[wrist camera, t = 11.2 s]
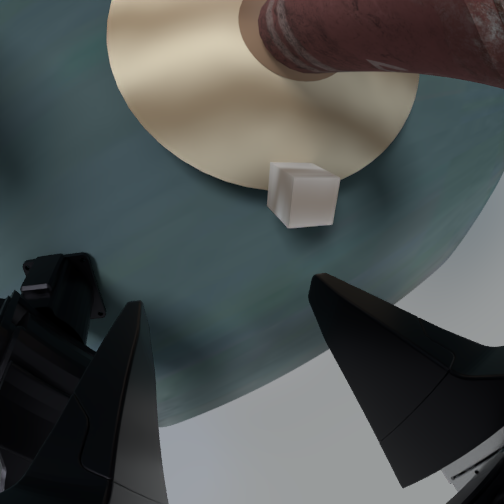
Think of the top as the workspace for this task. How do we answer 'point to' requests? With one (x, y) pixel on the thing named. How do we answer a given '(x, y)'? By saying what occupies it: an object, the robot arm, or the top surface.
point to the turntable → (250, 103)
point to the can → (388, 37)
